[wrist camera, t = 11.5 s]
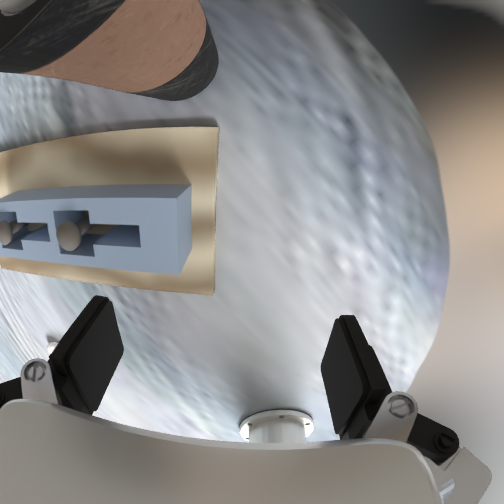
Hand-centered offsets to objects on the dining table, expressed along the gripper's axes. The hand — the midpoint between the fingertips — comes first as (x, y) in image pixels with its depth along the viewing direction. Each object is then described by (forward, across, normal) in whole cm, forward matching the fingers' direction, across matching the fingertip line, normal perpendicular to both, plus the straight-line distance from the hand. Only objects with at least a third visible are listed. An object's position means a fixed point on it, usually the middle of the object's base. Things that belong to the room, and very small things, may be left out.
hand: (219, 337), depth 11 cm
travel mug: (+16, +6, -14) cm, 22 cm away
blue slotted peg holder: (+15, +15, 0) cm, 21 cm away
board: (+16, +18, 0) cm, 24 cm away
